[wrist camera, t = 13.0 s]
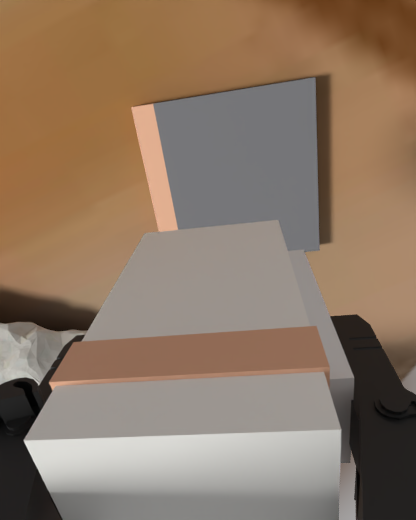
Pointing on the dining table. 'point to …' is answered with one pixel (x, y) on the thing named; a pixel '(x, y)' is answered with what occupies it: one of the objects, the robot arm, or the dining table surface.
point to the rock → (30, 350)
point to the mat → (235, 159)
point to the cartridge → (195, 390)
